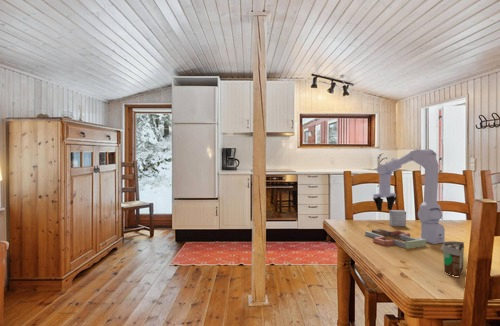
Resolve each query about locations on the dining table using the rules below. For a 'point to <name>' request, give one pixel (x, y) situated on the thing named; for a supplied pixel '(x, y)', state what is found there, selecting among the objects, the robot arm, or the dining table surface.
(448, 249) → the food container
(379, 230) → the walnut block
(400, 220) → the medicine box
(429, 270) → the dining table surface
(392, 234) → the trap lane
